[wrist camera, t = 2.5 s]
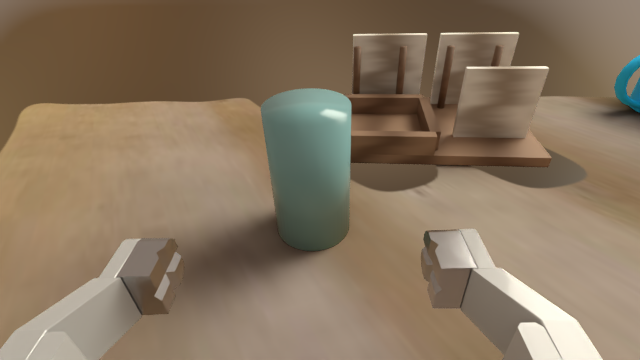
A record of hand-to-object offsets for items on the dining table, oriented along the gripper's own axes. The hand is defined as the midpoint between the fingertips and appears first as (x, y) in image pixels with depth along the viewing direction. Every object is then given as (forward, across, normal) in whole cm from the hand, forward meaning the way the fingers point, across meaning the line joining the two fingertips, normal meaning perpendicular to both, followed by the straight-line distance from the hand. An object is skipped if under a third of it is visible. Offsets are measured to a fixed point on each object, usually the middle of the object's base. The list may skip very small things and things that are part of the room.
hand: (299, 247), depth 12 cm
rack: (+28, -12, +10) cm, 32 cm away
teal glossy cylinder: (+12, 0, +10) cm, 16 cm away
